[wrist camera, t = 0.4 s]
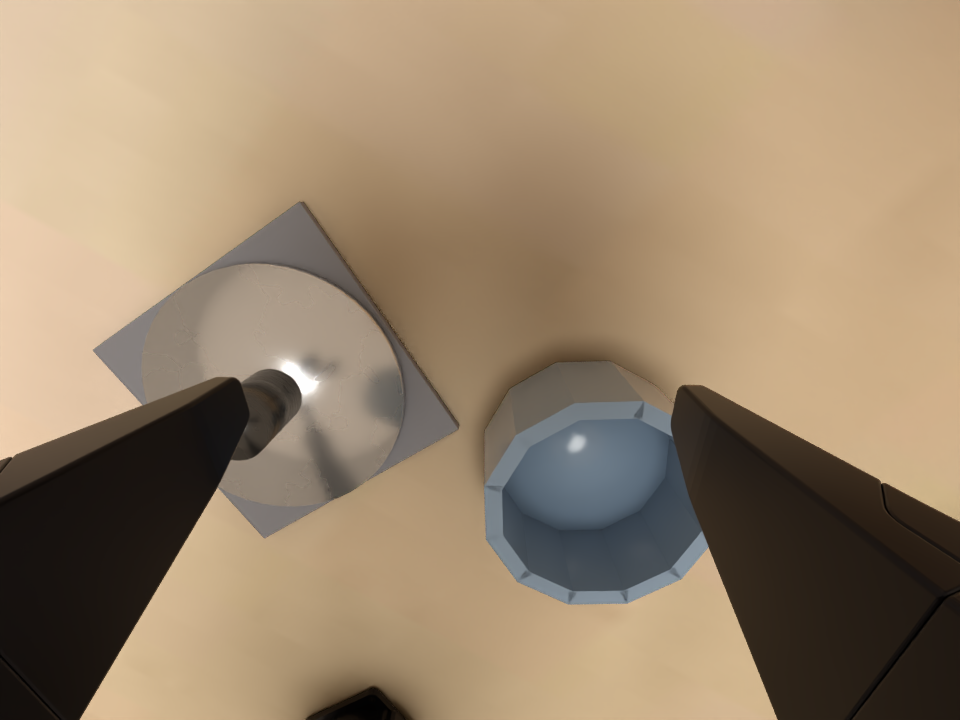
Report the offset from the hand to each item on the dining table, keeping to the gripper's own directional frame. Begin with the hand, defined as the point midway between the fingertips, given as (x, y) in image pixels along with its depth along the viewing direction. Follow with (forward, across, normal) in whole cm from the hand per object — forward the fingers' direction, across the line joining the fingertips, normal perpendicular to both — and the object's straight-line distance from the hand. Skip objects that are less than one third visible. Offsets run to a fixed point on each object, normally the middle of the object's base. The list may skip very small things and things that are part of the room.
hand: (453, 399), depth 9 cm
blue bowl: (+13, -5, +12) cm, 18 cm away
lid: (+12, +11, +8) cm, 18 cm away
